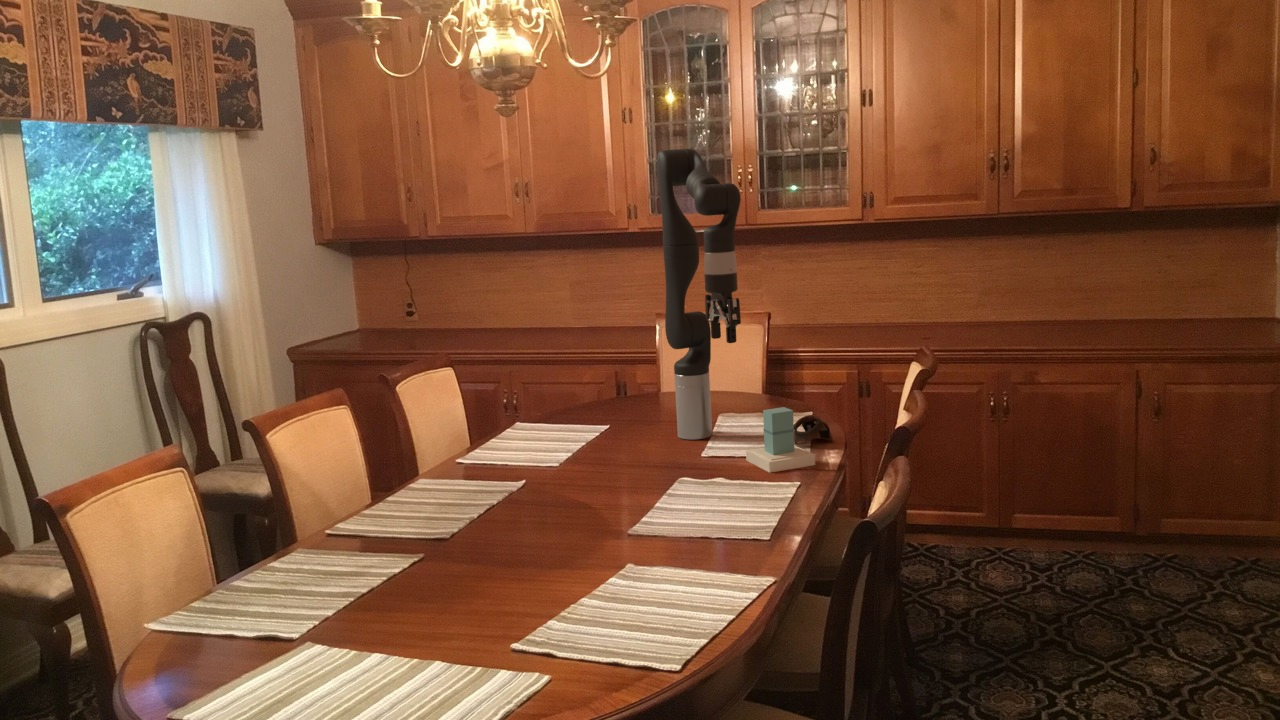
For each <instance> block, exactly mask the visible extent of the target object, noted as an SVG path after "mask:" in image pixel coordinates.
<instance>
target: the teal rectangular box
mask: <svg viewBox="0 0 1280 720" xmlns="http://www.w3.org/2000/svg"><path fill="white" fill-rule="evenodd" d="M762 412H763V413H762V416H763V419H762V420H763V439H764V441H763V442H764V448H765V451H766V452H768V453H770V454H772V455H778V454H784V453H790V452H795V451H794V445H795V442H794V424H795V423H794V410H793V409H791V408H787V407H785V406H783V407H776V408H769V409H762Z"/></svg>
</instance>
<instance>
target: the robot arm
mask: <svg viewBox="0 0 1280 720" xmlns="http://www.w3.org/2000/svg"><path fill="white" fill-rule="evenodd" d="M656 176H657V183H658V192H659V193H658V194H659V199H660V207H661V219H662V220H661V222H662V227H661V228H662V252H663V264H664V275H665V317H664V318H665V321H664V323H665V325H664V326H665V329H664V330H665V336H666V337H665V338H666V340H667V343H668V346H670V348H672V349H674V350H683V349H688V350H687V353H686V354H684V356H683V357H681V358H680V359H678V360H677V361H676V362H675V363H674V365H673V371H674V387H675V388H674V389H675V392H674V394H675V407H676V409H675V410H676V425H677V427H676V429H677V437H678V438H679V439H683V440H701V439H707V438H710V437H711V436H712V435H713V429H712V428H713V427H712V406H711V405H712V402H711V382H710V363H711V359H712V358H711V357H712V355H711V354H712V353H711V352H712V350H711V348H712V347H711V346H712V345H711V341H712V340H713V339H714V340H716V339H721V337H722V333H721V322H720V321H721V319H722V320H723V321H724V324H725V333H726V334H725V338H726V343H727V344H733V343H734V344H735V343H737V327H738V325H741V323H742V321H741V305H740V304H741V303H740V299H739V297H737V298H733V293H734V292H737V291H738V271H737V269H738V267H737V264H738V263H737V257H736V245H735V229H736V224H737V219H738V216H739V215H738V213H739V210H740V207H741V206H740V205H741V202H742V201H741V200H742V198H741V192H740V190H739V188H738V187H737V186H736V184H735V183H730V182H729V183H727V182H726V183H721V182H720V181H719V179H717V178H716V177H715V176H714V175H713V174H711V173H710V172H709V170H708V168H707V166H706V164H705V161H704V160H703V158H702V156H701V154H699V152H698V151H697V150H695V149H693V148H680V149H679V148H678V149H664V150H663V149H662V150H660V151H659V152H658V154H657V157H656ZM683 186H684V187H686V191H687V192H688V193H687V194H688V195H690V197H692V198H693V199H694V207H695V210H696V212H697V213H698V214H700V215H702V216H710V217H711V216H722V219H721V221H720V222H719V223H717V224H714V225H711V226H707V227H706V228H705V229H704V231H703V246H704V247H703V248H704V249H703V250H704V254H703V255H704V256H703V257H704V259H703V270H704V272H703V273H704V290H705V293H707V294H705V296H704V300H705V301H704V303H705V305H704V306H705V310H704V311H705V312H702V311H691V312H690V311H689V312H686V311H685V306H686V296H687V293H688V289H689V288H690V285H691V283H692V281H693V279H694V277H695V275H696V272H697V270H698V268H699V264H700V246H699V245H700V244H699V242H700V241H699V236H698V234H697V231H696V230H695V228H694V226H693V225H692V223H691V222H690V221H689V219H687V217H686V215H685V213H684V212H683V211H682V209H681V208H680V206H679V204H678V201H677V199H676V197H675V191H674V187H683ZM711 339H712V340H711Z"/></svg>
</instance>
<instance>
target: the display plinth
mask: <svg viewBox="0 0 1280 720" xmlns="http://www.w3.org/2000/svg"><path fill="white" fill-rule="evenodd" d="M794 451H795V452H790V453H784V454H778V455H772V454H770V453H768V452H766V451H765V447H760V448H753V449H747V450H745V455H746V457H745V459H746V461H747V462H749V463H750V464H752V465H754V466H756V467H757V468H760V469H761V470H764V471H766V472H768V473H769V474H771V473H777V472H781V471H788V470H793V469H800V468H804V467H805V468H806V467H810V466H811V467H812V466H816V454H814V453H812V452H810V451H808V450H805V449H804V448H801V447H799V446H798V445H796V444H794Z"/></svg>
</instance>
